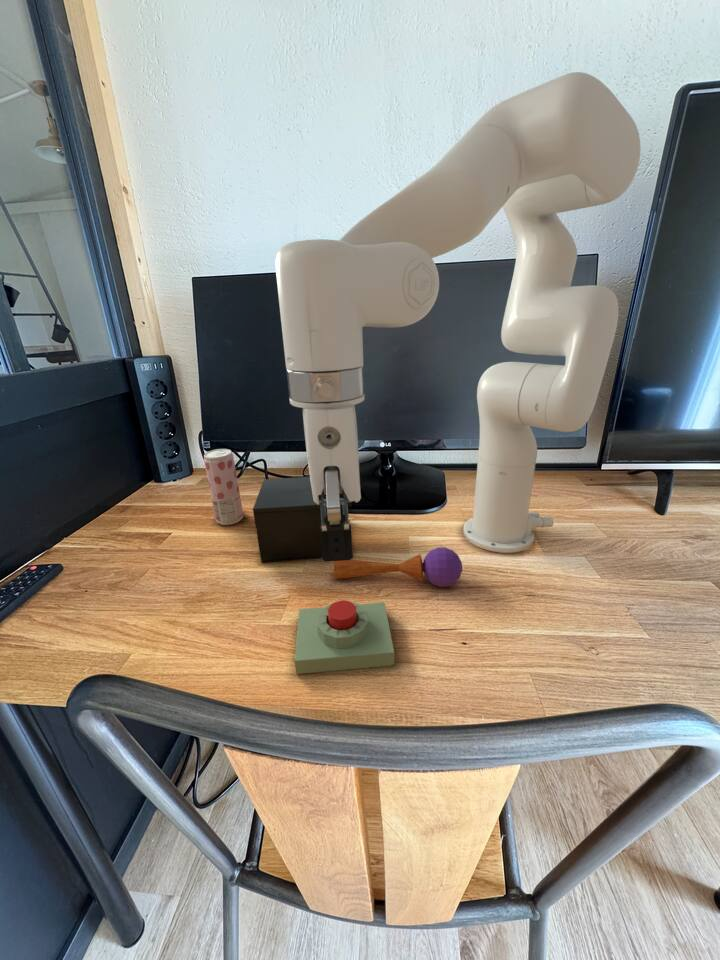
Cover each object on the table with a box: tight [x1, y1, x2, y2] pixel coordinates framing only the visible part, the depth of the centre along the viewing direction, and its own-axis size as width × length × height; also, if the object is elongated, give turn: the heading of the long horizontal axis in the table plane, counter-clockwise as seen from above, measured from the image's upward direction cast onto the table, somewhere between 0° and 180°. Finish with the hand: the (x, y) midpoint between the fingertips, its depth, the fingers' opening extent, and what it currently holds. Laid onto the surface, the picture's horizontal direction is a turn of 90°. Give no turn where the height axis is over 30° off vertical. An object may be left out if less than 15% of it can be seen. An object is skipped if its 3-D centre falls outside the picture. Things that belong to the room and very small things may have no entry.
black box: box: [253, 509, 322, 564], centre depth 74 cm, size 16×13×10 cm
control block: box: [294, 600, 395, 675], centre depth 52 cm, size 12×9×4 cm
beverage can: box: [203, 448, 244, 526], centre depth 82 cm, size 6×6×15 cm
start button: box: [328, 599, 357, 631], centre depth 51 cm, size 4×4×2 cm
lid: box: [252, 476, 353, 514], centre depth 71 cm, size 16×13×5 cm
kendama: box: [333, 546, 463, 588], centre depth 63 cm, size 6×6×20 cm
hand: (336, 537), depth 46 cm, fingers open, 8 cm apart
